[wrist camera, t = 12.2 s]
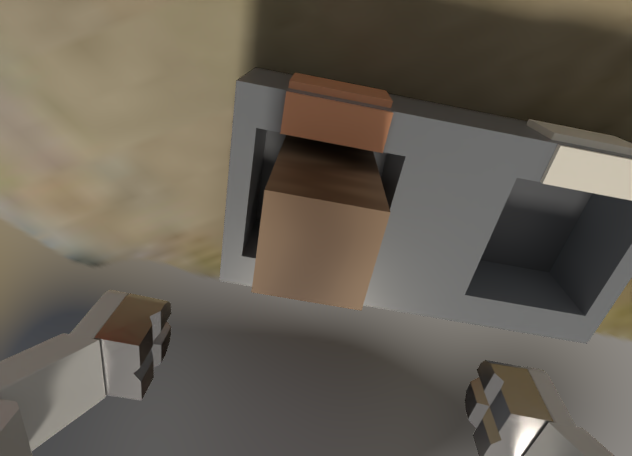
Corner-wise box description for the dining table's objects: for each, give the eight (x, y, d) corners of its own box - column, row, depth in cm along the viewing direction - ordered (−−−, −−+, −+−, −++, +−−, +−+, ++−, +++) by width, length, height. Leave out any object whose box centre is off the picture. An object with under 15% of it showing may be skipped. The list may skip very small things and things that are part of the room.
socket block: (636, 136, 21) (711, 167, 17) (548, 293, 26) (589, 347, 22) (256, 60, 20) (235, 73, 16) (237, 238, 25) (218, 283, 21)
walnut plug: (371, 146, 21) (390, 212, 14) (353, 221, 23) (361, 310, 16) (287, 130, 21) (264, 189, 14) (276, 207, 23) (251, 292, 16)
